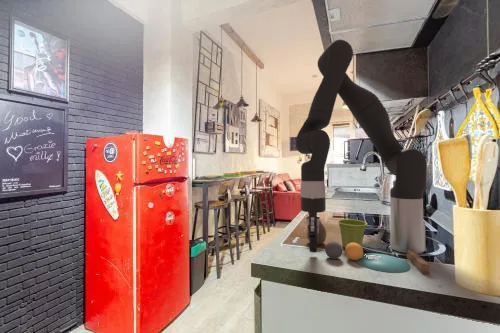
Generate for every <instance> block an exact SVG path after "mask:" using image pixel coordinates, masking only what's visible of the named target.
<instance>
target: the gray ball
mask: <svg viewBox="0 0 500 333" xmlns="http://www.w3.org/2000/svg"><path fill="white" fill-rule="evenodd" d="M342 247H343V246H341V243H339V242H336V241H334V240H333V241H330V242H327V243H326V244H325V247H324V253H325V254H326V255H327V257H328V258H330V259H332V260H337V259H339V258H341V256H342V255H343V252H344V251H343V248H342Z"/></svg>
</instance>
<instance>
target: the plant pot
mask: <svg viewBox="0 0 500 333" xmlns="http://www.w3.org/2000/svg"><path fill="white" fill-rule="evenodd" d="M337 223H338V226H339V229H340V230H339V231H340V237H341V244H342V247H343V248H346V246H347V245H348V244H349V243H357V244H359V245H360V246H361V247H362V248H363V243H364V234H365V230H366V227H367V225H368V223H367V222H366V221H362V220H359V219H358V220H357V219H349V218H347V219H346V218H345V219H343V218H342V219H338V220H337Z"/></svg>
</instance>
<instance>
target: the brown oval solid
mask: <svg viewBox="0 0 500 333" xmlns="http://www.w3.org/2000/svg"><path fill="white" fill-rule="evenodd" d="M317 236H318V239H317V246H321V245H323V244H324V243H325V241H326V238H327V229H326V227H325V225H324V224H323V223H322V222H321V220H320V224H319V233H318V234H317ZM308 237H309V235H308V232H307V231H306V239H307V240H308V242H309V243H310V240H309V238H308Z"/></svg>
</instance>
